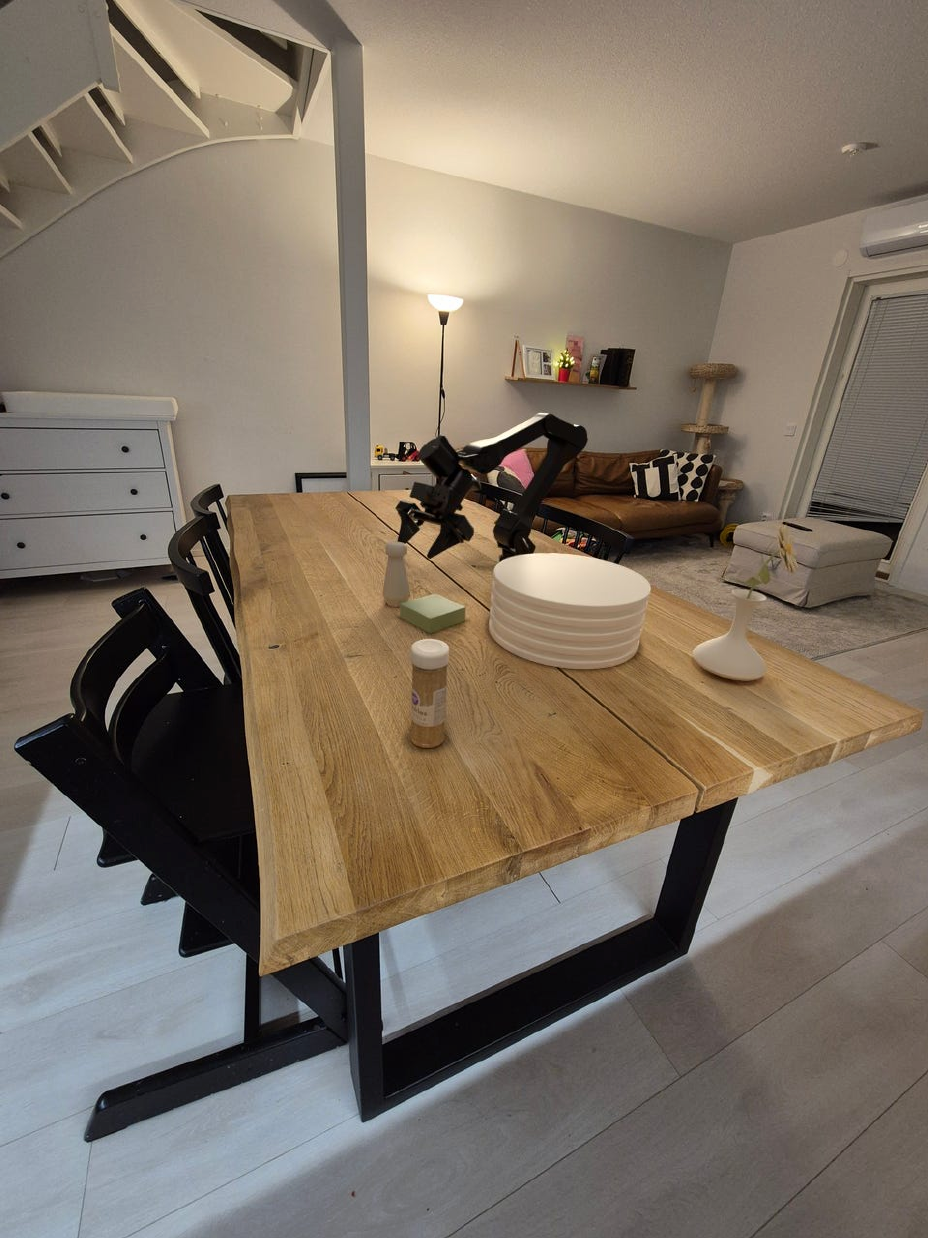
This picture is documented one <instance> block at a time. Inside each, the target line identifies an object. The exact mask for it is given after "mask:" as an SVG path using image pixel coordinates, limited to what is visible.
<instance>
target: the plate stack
mask: <svg viewBox="0 0 928 1238" xmlns="http://www.w3.org/2000/svg"><path fill="white" fill-rule="evenodd" d="M492 580H493V581H492V584H491V597H490V609H489V621H488V630H489V631H488V632H489V634H490V636H491V638H492V639H493V640H494V642H495V643H497V644H498V645H499V646H500V647H502V648H503V649H504V650H506V651H508V653H510V654H513V655H515V656H516V657H520V658H522V659H525V660H527V661H530V662H532V663H536V664H539V665H544V666H548V667H554V668H560V669H569V670H598V669H599V670H600V669H606V668H611V667H615V666H618V665H622V664H623V663H626V662H627V661H629V660H631V659H632V658H633V657H634V656H635V655H636V654H637V653H638V649H639V645H640V639H641V636H642V631H643V625H644V623H645V618H646V612H647V609H648V604H649V598H650V595H651V589H652V588H651V584H650V582H649V581H648V580H647V579H646V578H645V577H644V576H643V575H641V574H639V573H638V572H637V571H635V570H632V569H631V568H628V567H626V566H623V565H621V564H618V563H615V562H612V561H608V560H605V559H599V558H596V557H591V556H584V555H579V554H569V553H557V552H556V553H555V552H540V553H539V552H538V553H537V552H534V553H533V554H525V555H518V556H514V557H510V558H507V559H504V560H502V561H501V562H499V561H498V563H496V565H495V566H494V567H493V571H492Z"/></svg>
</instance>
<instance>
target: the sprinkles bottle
mask: <svg viewBox="0 0 928 1238" xmlns="http://www.w3.org/2000/svg"><path fill="white" fill-rule="evenodd" d="M449 661H450V647H449V645H448V644H447V643H445V642H444V641H443V640H439V639H435V638H424V639H419V640H417V641H415V642H413V644H412V645H411V647H410V662H411V665H412V666H411V668H412V669H411V677H412V678H411V690H410V691H411V694H410V696H411V697H410V719H411V721H410V732H409V733H410V734H409V738H410V741H411V742H412V744H413V745H415V746H417V747H419V748H423V749H431V748H432V749H433V748H436V747H438V746H440V745H441V744H442V743H443V742H444V741H445V738H446V736H445V735H446V734H445V722H446V720H445V719H446V711H447V693H448V692H447V690H448V682H447V681H448V680H447V678H448V665H449Z"/></svg>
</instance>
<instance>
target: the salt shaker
mask: <svg viewBox="0 0 928 1238" xmlns="http://www.w3.org/2000/svg"><path fill="white" fill-rule="evenodd" d="M384 550H385V555H387V562H386V568H385V576H384V581H383V587H382V597H383V599H384V601H385V602H386V604H387V606H388V607H390V608H391V607H392V608H400V604H401V603H404V602H408V601H409V599H410V597H411V587H410V582H409V576H408V571H407V564H406V560H405V556H406V555H407V553H408V547H407V543H406V544H404V543H402V542H397V541H389V542H387V543H386V544H385V548H384Z"/></svg>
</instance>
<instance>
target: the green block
mask: <svg viewBox="0 0 928 1238" xmlns="http://www.w3.org/2000/svg"><path fill="white" fill-rule="evenodd" d="M466 608H467V607H466V606H465V605H462V604H460V603H457V602H455V601H453V600H450V599H449V598H446V597H444V596H442V595H440V594H437V593H432V594H429V595H425V596H422V597H418V598H415V599H411V600H408V601H407V602H404V603H401V604H400V607H399V618H400V619H402V620H403V621H406V622H408V623H410V624H411V625H412V626H415V627H417V628H419V629H421V630H422V631H425V632H426V633H428V634H432V633H435V632H438V631H441V630H444V629H447V628H449V627H452V626H455V625H458V624H460V623H463V622H465V621H466Z"/></svg>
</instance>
